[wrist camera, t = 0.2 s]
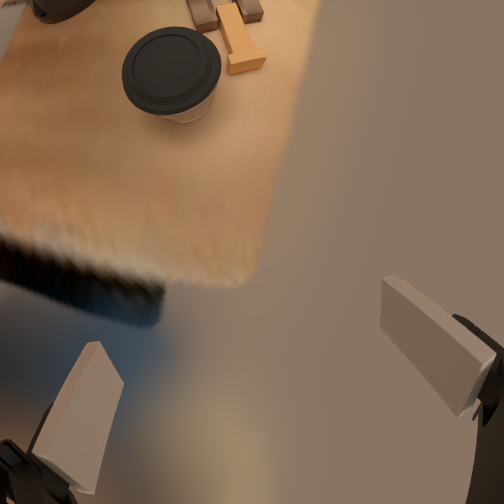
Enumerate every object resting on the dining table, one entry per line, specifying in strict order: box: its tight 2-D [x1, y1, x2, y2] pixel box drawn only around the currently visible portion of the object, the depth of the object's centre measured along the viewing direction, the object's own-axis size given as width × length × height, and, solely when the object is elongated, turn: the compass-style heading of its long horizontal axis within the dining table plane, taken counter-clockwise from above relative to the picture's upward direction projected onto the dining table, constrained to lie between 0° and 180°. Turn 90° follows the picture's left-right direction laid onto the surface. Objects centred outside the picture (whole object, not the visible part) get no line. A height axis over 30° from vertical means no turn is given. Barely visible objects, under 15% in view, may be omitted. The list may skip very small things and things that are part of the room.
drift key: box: [216, 3, 267, 75], centre depth 27 cm, size 10×4×4 cm, turn 16°
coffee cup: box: [122, 27, 221, 123], centre depth 24 cm, size 9×9×15 cm
